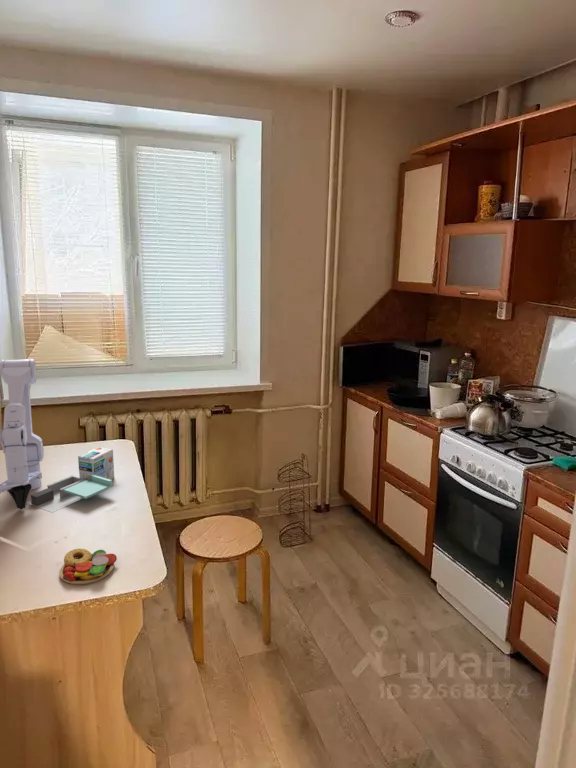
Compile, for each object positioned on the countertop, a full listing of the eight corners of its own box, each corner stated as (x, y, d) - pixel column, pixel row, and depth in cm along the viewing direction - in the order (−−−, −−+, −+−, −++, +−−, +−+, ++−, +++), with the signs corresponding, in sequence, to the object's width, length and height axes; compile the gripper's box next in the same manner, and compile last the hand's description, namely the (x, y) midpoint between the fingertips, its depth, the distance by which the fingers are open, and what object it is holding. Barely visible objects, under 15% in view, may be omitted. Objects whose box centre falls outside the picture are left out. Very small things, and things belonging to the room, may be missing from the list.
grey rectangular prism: (31, 503, 169) (30, 495, 168) (48, 496, 174) (47, 488, 173) (37, 506, 167) (36, 497, 167) (53, 498, 172) (53, 490, 172)
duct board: (24, 504, 170) (23, 493, 169) (72, 485, 185) (71, 474, 184) (52, 514, 163) (51, 503, 163) (99, 493, 179) (98, 482, 178)
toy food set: (69, 558, 141) (68, 546, 140) (120, 556, 142) (120, 545, 142) (52, 588, 128) (51, 576, 127) (109, 586, 129) (108, 574, 129)
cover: (86, 498, 166) (85, 491, 165) (63, 491, 170) (63, 484, 170) (112, 486, 175) (112, 480, 174) (90, 480, 179) (90, 473, 179)
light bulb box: (95, 489, 182) (93, 458, 180) (79, 485, 185) (76, 456, 182) (115, 477, 192) (113, 448, 190) (99, 474, 194) (97, 446, 192)
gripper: (2, 476, 153) (7, 520, 156) (46, 460, 165) (50, 501, 168) (-13, 471, 156) (-8, 514, 159) (31, 456, 169) (35, 496, 172)
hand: (21, 507), depth 164 cm, fingers closed
